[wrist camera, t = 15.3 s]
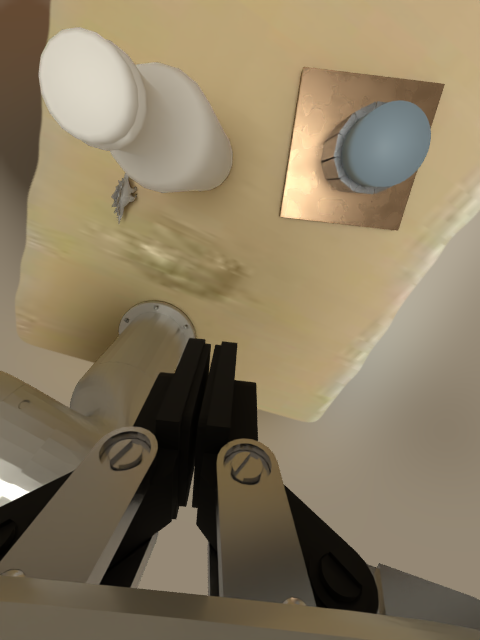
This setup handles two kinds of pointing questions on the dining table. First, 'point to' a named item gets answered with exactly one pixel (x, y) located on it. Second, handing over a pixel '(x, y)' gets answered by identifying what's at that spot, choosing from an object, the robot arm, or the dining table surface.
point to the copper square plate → (326, 145)
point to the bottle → (134, 113)
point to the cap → (386, 145)
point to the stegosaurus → (123, 196)
